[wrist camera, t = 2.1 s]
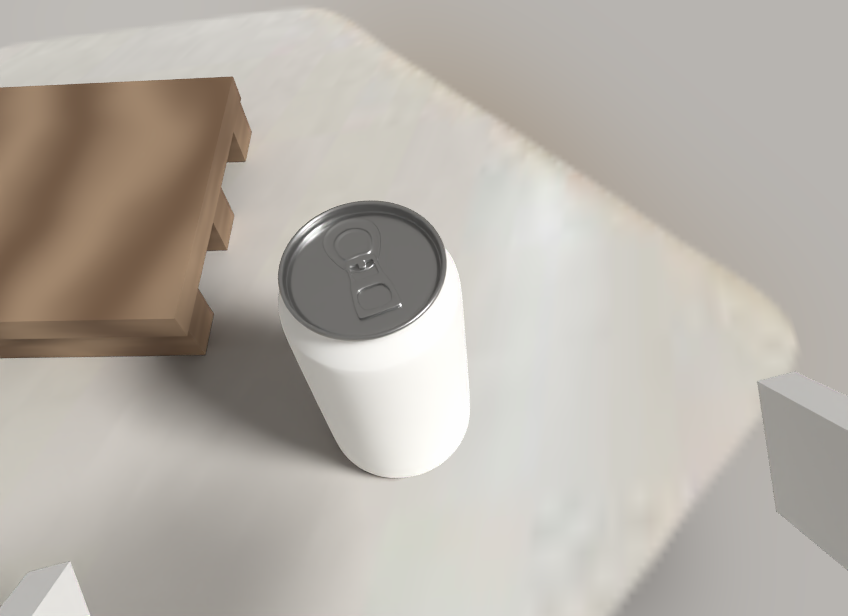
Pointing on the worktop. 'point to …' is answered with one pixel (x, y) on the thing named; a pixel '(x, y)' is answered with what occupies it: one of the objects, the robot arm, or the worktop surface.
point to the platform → (113, 214)
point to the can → (379, 334)
